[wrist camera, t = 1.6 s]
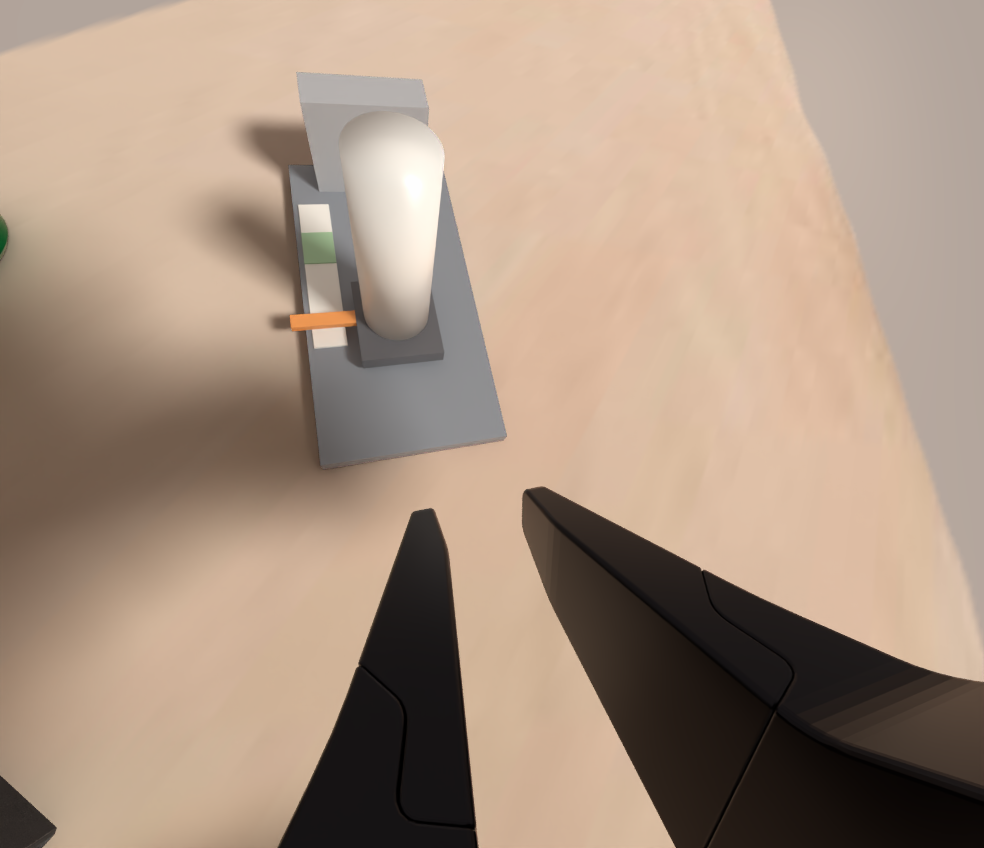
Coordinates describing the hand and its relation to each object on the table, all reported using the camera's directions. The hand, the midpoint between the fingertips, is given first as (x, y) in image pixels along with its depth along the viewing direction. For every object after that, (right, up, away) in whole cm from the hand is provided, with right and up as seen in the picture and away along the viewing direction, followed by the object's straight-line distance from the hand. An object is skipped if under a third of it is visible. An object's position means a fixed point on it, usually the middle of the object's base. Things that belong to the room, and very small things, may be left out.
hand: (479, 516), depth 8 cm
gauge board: (-5, +9, +15) cm, 19 cm away
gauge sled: (-6, +7, +13) cm, 16 cm away
